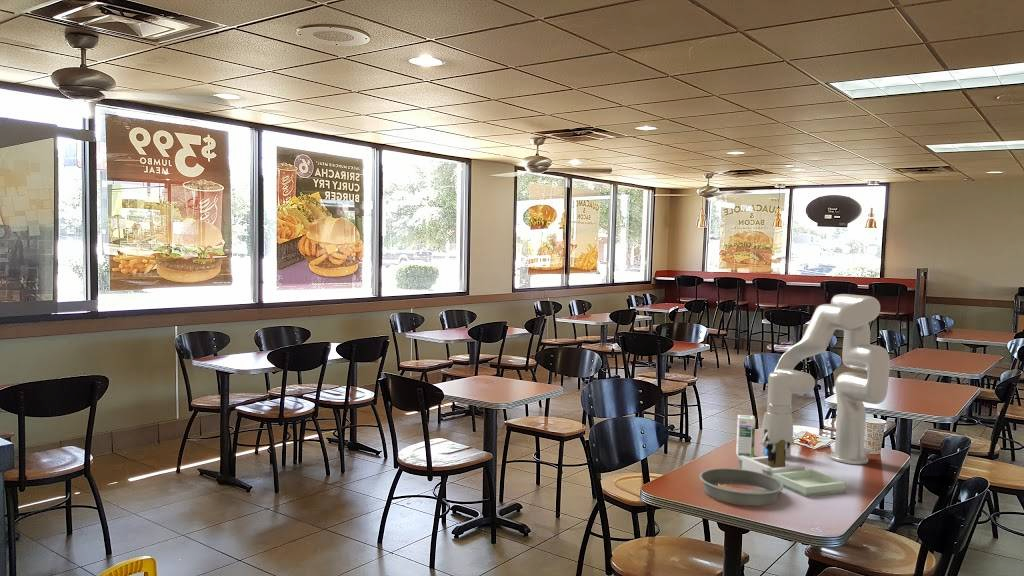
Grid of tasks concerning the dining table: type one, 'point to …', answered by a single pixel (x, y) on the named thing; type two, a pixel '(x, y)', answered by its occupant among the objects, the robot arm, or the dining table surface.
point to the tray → (810, 483)
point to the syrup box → (745, 436)
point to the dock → (764, 465)
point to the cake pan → (745, 477)
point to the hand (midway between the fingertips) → (776, 462)
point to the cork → (778, 455)
